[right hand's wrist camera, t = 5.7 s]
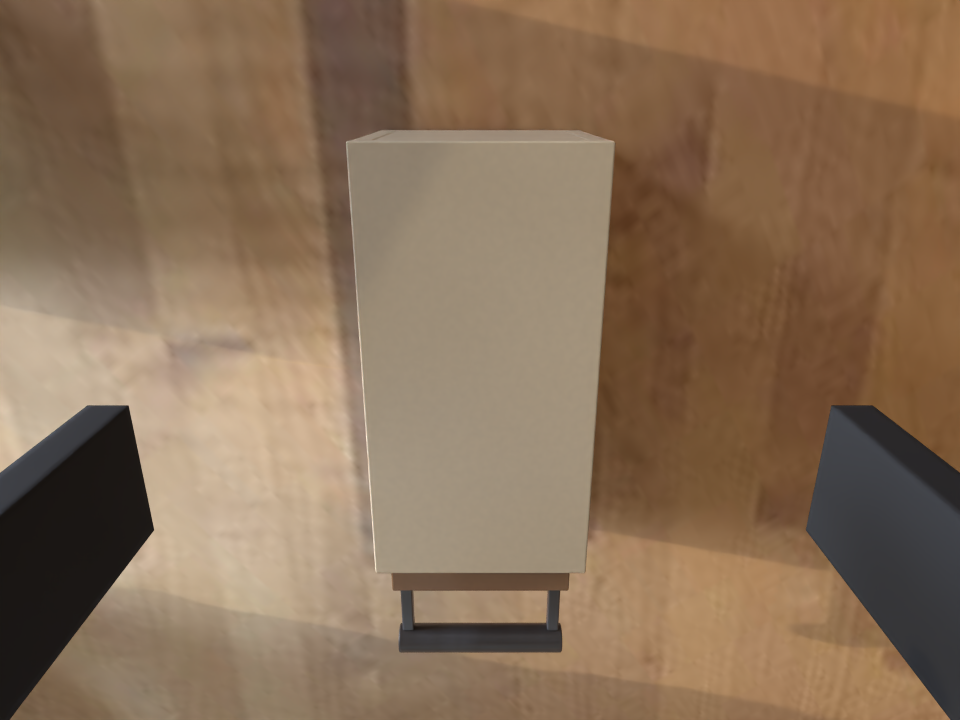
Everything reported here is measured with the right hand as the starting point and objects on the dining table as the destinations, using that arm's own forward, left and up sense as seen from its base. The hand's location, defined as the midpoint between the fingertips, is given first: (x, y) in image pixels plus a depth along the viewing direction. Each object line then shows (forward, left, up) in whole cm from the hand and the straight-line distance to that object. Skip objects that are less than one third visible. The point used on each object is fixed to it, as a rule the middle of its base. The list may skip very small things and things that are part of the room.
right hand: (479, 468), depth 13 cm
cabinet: (+1, -4, -24) cm, 24 cm away
